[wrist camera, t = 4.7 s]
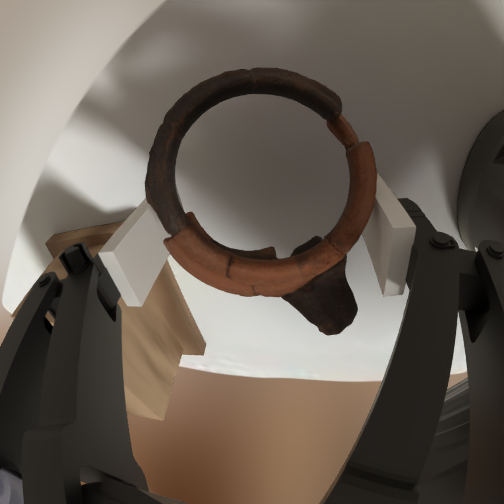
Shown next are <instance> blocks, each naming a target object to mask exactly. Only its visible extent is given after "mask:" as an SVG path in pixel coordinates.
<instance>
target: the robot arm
mask: <svg viewBox="0 0 504 504" xmlns="http://www.w3.org/2000/svg"><path fill="white" fill-rule="evenodd" d="M175 185H176V184H175ZM176 190H177V187H176ZM177 195H178V198H179V201H180V204H181V206H182V203H181V200H180V197H179V194H178V190H177ZM182 208H183V207H182ZM457 216H458V226H459V231H460V235H461V238H462V240H463V242H464V244H465V246H466V248H467V249H468V250H464V249H459V246H458V243H457V242H456V240H455V239H454V238H453V237H451V236H449V235H448V234H445V233H442V232H437V231H436V229H435V228H434V227H433V225H432V224H431V223H430V221H429V220H428V218H427V217H425V214H424V213H423V212H421V209H420V208H419V207H418V205H417V204H416V203H414V202H413V201H411V200H409V199H408V198H401V199H397V198H396V197H395V195H394V194H393V193H392V191H391V190H390V188H389V187H388V186H387V184H386V183H385V182H384V181H383V179H382V178H381V177H380V175H379V174H378V173H377V191H376V196H375V202H374V207H373V210H372V213H371V216H370V218H369V221H368V223H367V225H366V227H365V229H364V231H363V232H362V235H363V238H364V240H365V243H366V246H367V249H368V251H369V254H370V257H371V260H372V263H373V266H374V269H375V272H376V275H377V278H378V281H379V284H380V287H381V291H382V294H383V297H384V296H393V295H402V294H403V293H404V289H405V284H406V283H407V285H408V288H409V290H410V292H409V296H408V300H407V303H406V307H405V310H404V315H403V319H402V322H401V326H400V329H399V333H398V336H397V339H396V343H395V346H394V349H393V352H392V355H391V358H390V361H389V364H388V366H387V369H386V372H385V375H384V377H383V380H382V383H381V385H380V388H379V391H378V393H377V395H376V398H375V400H374V403H373V405H372V407H371V410H370V412H369V414H368V417H367V419H366V421H365V423H364V425H363V427H362V430H361V432H360V434H359V436H358V438H357V440H356V442H355V444H354V446H353V448H352V450H351V452H350V454H349V455H348V457H347V459H346V461H345V463H344V465H343V466H342V468H341V470H340V472H339V474H338V475H337V477H336V478H335V480H334V482H333V483H332V485H331V486H330V488H329V490H328V491H327V493H326V494H325V496H324V497H323V499H322V500H321V502H320V503H319V504H504V111H502V112H501V113H499V114H498V115H496V116H495V117H494V118H493V119H492V120H491V121H490V122H489V123H488V124H487V126H486V127H485V128H484V129H483V131H482V132H481V134H480V135H479V137H478V138H477V140H476V142H475V144H474V146H473V148H472V150H471V152H470V154H469V157H468V159H467V162H466V165H465V168H464V171H463V175H462V178H461V183H460V188H459V195H458V205H457ZM168 237H171V235H170V234H168V233H167V232H166V231H165V229H164V227H163V225H162V224H161V222H160V220H159V218H158V216H157V213H156V212H155V211H154V210H153V208H152V207H151V205H149V204H148V203H147V200H146V199H145V200H144V201H143V202H142V203H141V204H140V205H139V206H138V207H137V208H136V209H135V210H134V211H133V213H132V214H131V215H130V216H129V217H128V218H127V219H126V220H125V222H124V223H123V224H122V225H121V226H120V227H119V228H118V230H117V231H116V232H115V233H114V234H113V235H112V236H111V237H110V238H109V240H108V241H107V242H106V243H105V244H104V246H103V247H102V248H101V249H100V251H99V252H98V253H97V254H96V255H95V257H94V258H92V256H91V254H90V252H89V250H88V248H87V246H86V244H85V243H84V242H78V243H75V244H73V245H71V246H69V247H68V248H66V249H65V250H64V251H63V252H62V253H61V254H60V256H59V257H58V258H59V259H60V261H61V263H62V265H63V266H64V268H65V270H66V272H67V273H68V275H67V278H65V279H62V280H59V278H58V276H57V275H56V273H55V272H48V273H45V274H44V275H42V276H41V277H40V278H39V279H38V280H37V282H36V283H35V284H34V286H33V288H32V289H31V291H30V292H29V294H28V296H27V297H26V299H25V301H24V303H23V304H22V306H21V308H20V310H19V311H18V313H17V315H16V317H15V319H14V321H13V322H12V325H11V326H10V328H9V330H8V332H7V334H6V336H5V338H4V340H3V342H2V344H1V346H0V504H187V503H185V502H183V501H179V500H175V499H171V498H167V497H164V496H160V495H157V494H153V493H150V492H149V490H148V486H147V482H146V478H145V475H144V473H143V471H142V469H141V468H140V466H139V465H138V464H137V462H136V461H135V459H134V457H133V453H132V448H131V441H130V434H129V428H128V420H127V411H126V402H125V391H124V378H123V361H122V310H121V307H120V305H119V304H118V300H119V299H120V297H121V296H122V298H123V300H124V302H125V303H126V305H127V306H136V307H142V306H143V304H144V302H145V300H146V298H147V296H148V294H149V292H150V290H151V288H152V286H153V284H154V282H155V280H156V279H157V277H158V275H159V273H160V271H161V269H162V267H163V266H164V264H165V262H166V260H167V258H168V256H169V255H170V253H169V251H168V250H167V248H166V247H165V245H164V243H163V240H164V239H165V238H168ZM47 312H49V313H50V315H51V316H52V317H53V319H54V320H55V321H54V325H53V326H52V324H51V323H50V322H49V321H48V319H47V318H46V317H45V316H46V314H47ZM458 312H459V317H460V323H461V328H462V334H463V340H464V347H465V355H466V363H467V373H468V378H466V379H464V380H463V381H461V382H459V383H458V384H456V385H454V386H453V387H451V388H449V389H447V387H448V382H449V377H450V371H451V366H452V359H453V353H454V345H455V337H456V328H457V317H458ZM80 481H82V482H84V483H87V484H84V485H81V483H80Z"/></svg>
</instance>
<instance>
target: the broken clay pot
mask: <svg viewBox="0 0 504 504" xmlns="http://www.w3.org/2000/svg"><path fill="white" fill-rule="evenodd" d="M247 94H269V95H277V96H282V97H286V98H289V99H292V100H295V101H297V102H299V103H301V104H303V105H305V106H306V107H308V108H310V109H312V110H313V111H314V112H316V113H317V114H319V115H320V116H321V117H322V118H323V119H325V120H326V123H327V127H328V128H329V130H330V131H331V132H332V133H333V134H334V135H335V136H336V138H337V139H338V140H339V141H340V142H341V143H342V144H343V145H344V146H345V149H346V157H347V160H348V165H349V172H350V189H349V195H348V200H347V204H346V206H345V209H344V211H343V214H342V215H341V217H340V219H339V221H338V223H337V224H336V226H335V227H334V228H333V229H332V231H331V232H330V233H329V234H328V235H326V236H325V237H324V239H323V240H322V238H321V237H319V236H315V237H313V238H312V239H310V240H309V241H308V242H306V243H305V244H303V245H301V246H299V247H297V248H296V249H295V250H294V251H293V253H292V254H291V256H290V257H288V258H283V259H278V258H277V257H276V252H275V249H274V247H268V248H264V249H260V250H253V251H244V250H238V249H232V248H228V247H226V246H224V245H222V244H220V243H218V242H217V241H215V240H213V239H212V238H211V237H210V236H209V235H208V234H207V233H206V231H205V230H204V229H203V228H202V227H201V225H200V224H199V222H198V220H197V219H196V217H195V215H194V213H193V212H188V213H185V212H184V210H183V208H182V206H181V204H180V201H179V198H178V195H177V190H176V185H175V164H176V157H177V153H178V149H179V146H180V144H181V140H182V139H183V137H184V136H185V134H186V132H187V131H188V130H189V128H190V127H191V126H192V124H193V123H194V122H195V121H196V120H197V119H198V118H199V117H200V116H201V115H202V114H203V113H205V112H206V111H207V110H209V109H210V108H211V107H213V106H215V105H217V104H218V103H220V102H222V101H225V100H227V99H230V98H233V97H237V96H242V95H247ZM341 112H342V103H341V99H340V97H339V96H338V95H337V94H336V93H334V92H333V91H331V90H330V89H328V88H327V87H326V86H324V85H322V84H320V83H319V82H317V81H315V80H312V79H309V78H307V77H305V76H302V75H300V74H298V73H295V72H291V71H288V70H283V69H279V68H253V69H251V70H246V69H239V70H235V71H228V72H224V73H222V74H220V75H217V76H215V77H212V78H210V79H208V80H205V81H203V82H201V83H199V84H198V85H196V86H195V87H193V88H192V89H191V90H190V91H188V92H187V93H185V94H184V95H183V96H182V97H181V98H180V99H179V100H178V101H177V102H176V103H175V104H174V106H173V107H172V108H171V109H170V110H169V111H168V112H167V113H166V115H165V118H164V121H163V124H162V125H161V126H160V127H159V129H158V132H157V135H156V137H155V140H154V144H153V146H152V148H151V150H150V152H149V154H150V158H149V162H148V167H147V174H146V180H145V192H146V200H147V203H148V204H149V205H151V207H152V208H153V210H154V211H155V212H156V213H157V216H158V218H159V220H160V222H161V224H162V225H163V227H164V229H165V231H166V232H167V233H168V234H170V235H171V237H168V238H165V239H164V240H163V243H164V245H165V247H166V248H167V250H168V251H169V253H170V254H171V255H172V257H173V258H174V259H175V260H176V261H177V262H178V263H179V264H180V265H181V266H182V267H183V268H184V269H185V270H186V271H187V272H189V273H190V274H191V275H193V276H194V277H196V278H197V279H199V280H200V281H202V282H204V283H206V284H207V285H210V286H212V287H214V288H217V289H219V290H222V291H225V292H228V293H232V294H238V295H240V296H245V297H252V296H258V295H262V296H265V297H282V298H283V299H284V300H285V301H287V302H289V303H290V304H291V305H292V306H293V307H295V308H296V309H297V310H298V311H299V312H300V313H301V314H302V315H303V316H304V317H305V318H306V319H307V320H308V321H309V322H310V323H312V324H314V325H316V326H317V327H318V329H319V331H320V332H322V333H324V334H325V335H335V334H339V333H341V332H342V331H343V330H344V329H345V328H346V327H347V326H349V325H351V324H352V322H353V320H354V318H355V316H356V314H357V311H358V307H357V303H356V301H355V298H354V295H353V292H352V290H351V288H350V286H349V284H348V282H347V279H346V276H345V266H346V261H347V260H346V258H347V253H348V252H349V251H350V250H351V248H352V247H353V245H354V244H355V243H356V242H357V241H358V239H359V237H360V235H361V234H362V232H363V231H364V229H365V227H366V225H367V223H368V221H369V218H370V216H371V213H372V210H373V207H374V202H375V196H376V191H377V170H376V164H375V159H374V155H373V151H372V148H371V146H370V143H369V142H360V143H359V140H358V137H357V135H356V133H355V132H354V130H353V129H352V127H351V125H350V124H349V123H348V121H347V120H346V119H345V118H344V116H343V115H342V114H341Z"/></svg>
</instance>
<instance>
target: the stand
mask: <svg viewBox="0 0 504 504" xmlns="http://www.w3.org/2000/svg"><path fill="white" fill-rule="evenodd" d="M124 222H125V221H123V222H118V223H112V224H106V225H101V226H95V227H90V228H85V229H80V230H75V231H70V232H65V233H60V234H55V235H53V236H52V237H51V238H50V239H49V240H48V241H47V242H46V243H45V244H46V246H47V248H48V250H49V251H50V253H51V255H52V257H53V258H54V260H53V261H52V262H51V264H50V265H49V266H48V267H47V268H46V270H45V271H44V272H43V273H42V275H44V274H45V273H48V272H55V273H56V275H57V276H58V278H59V280H62V279H65V278H67V275H68V273H67V272H66V270H65V268H64V266H63V265H62V263H61V261H60V259H59V258H58V257H59V256H60V254H61V253H62V252H63V251H64V250H65V249H66V248H68V247H69V246H71V245H73V244H75V243H78V242H84V243H85V244H86V246H87V248H88V250H89V252H90V254H91V256H92V258H94V257H95V255H96V254H97V253H98V252H99V251H100V249H101V248H102V247H103V246H104V244H105V243H106V242H107V241H108V240H109V238H110V237H111V236H112V235H113V234H114V233H115V232H116V231H117V230H118V228H119V227H120V226H121V225H122V224H123V223H124ZM42 275H41V276H42ZM41 276H40V277H41ZM40 277H39V278H40ZM36 282H37V281H36ZM36 282H35V283H36ZM33 286H34V285H33ZM33 286H32V288H33ZM32 288H31V289H32ZM31 289H30V290H29V292H30V291H31ZM29 292H28V293H27V294H26V296H25V297H24V298H23V300H22V301H21V303H20V304H19V305H18V307H17V308H16V310H15V311H14V313H13V314H12V316H11V317H12V318H13V320H14V319H15V317H16V315H17V313H18V311H19V310H20V308H21V306H22V304H23V303H24V301H25V299H26V297H27V296H28V294H29ZM118 304H119V305H120V307H121V310H122V361H123V378H124V391H125V402H126V411H127V413H129V414H133V415H138V416H143V417H148V418H152V419H158V420H164V416H165V413H166V409H167V405H168V402H169V398H170V394H171V391H172V387H173V384H174V380H175V377H176V373H177V370H178V366H179V363H180V359H181V356H182V354H183V355H204V351H205V347H206V343H205V341H204V339H203V337H202V335H201V333H200V331H199V329H198V327H197V325H196V323H195V320H194V318H193V316H192V314H191V312H190V310H189V308H188V306H187V303H186V301H185V299H184V297H183V295H182V293H181V290H180V288H179V286H178V284H177V281H176V279H175V277H174V275H173V272H172V270H171V268H170V265H169V263H168V260H166V262H165V264H164V266H163V267H162V269H161V271H160V273H159V275H158V277H157V279H156V280H155V282H154V284H153V286H152V288H151V290H150V292H149V294H148V296H147V298H146V300H145V302H144V304H143V306H142V307H136V306H127V305H126V303H125V302H124V300H123V298H122V296H121V297H120V299H119V300H118ZM45 317H46V318H47V319H48V321H49V322H50V323H51V324H52V326H53V325H54V321H55V320H54V319H53V317H52V316H51V315H50V313H49V312H47V314H46V316H45Z"/></svg>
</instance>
